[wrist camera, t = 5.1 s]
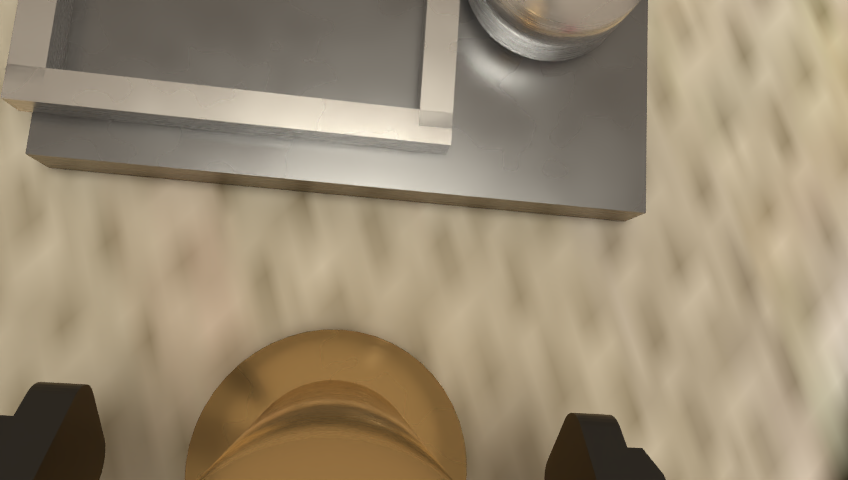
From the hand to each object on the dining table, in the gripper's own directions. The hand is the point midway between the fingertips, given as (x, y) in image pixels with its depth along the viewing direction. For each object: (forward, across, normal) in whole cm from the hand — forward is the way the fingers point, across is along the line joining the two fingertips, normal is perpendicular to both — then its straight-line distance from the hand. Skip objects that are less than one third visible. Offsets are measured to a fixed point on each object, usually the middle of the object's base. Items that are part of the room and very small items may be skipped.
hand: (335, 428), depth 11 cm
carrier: (+11, 0, -4) cm, 12 cm away
